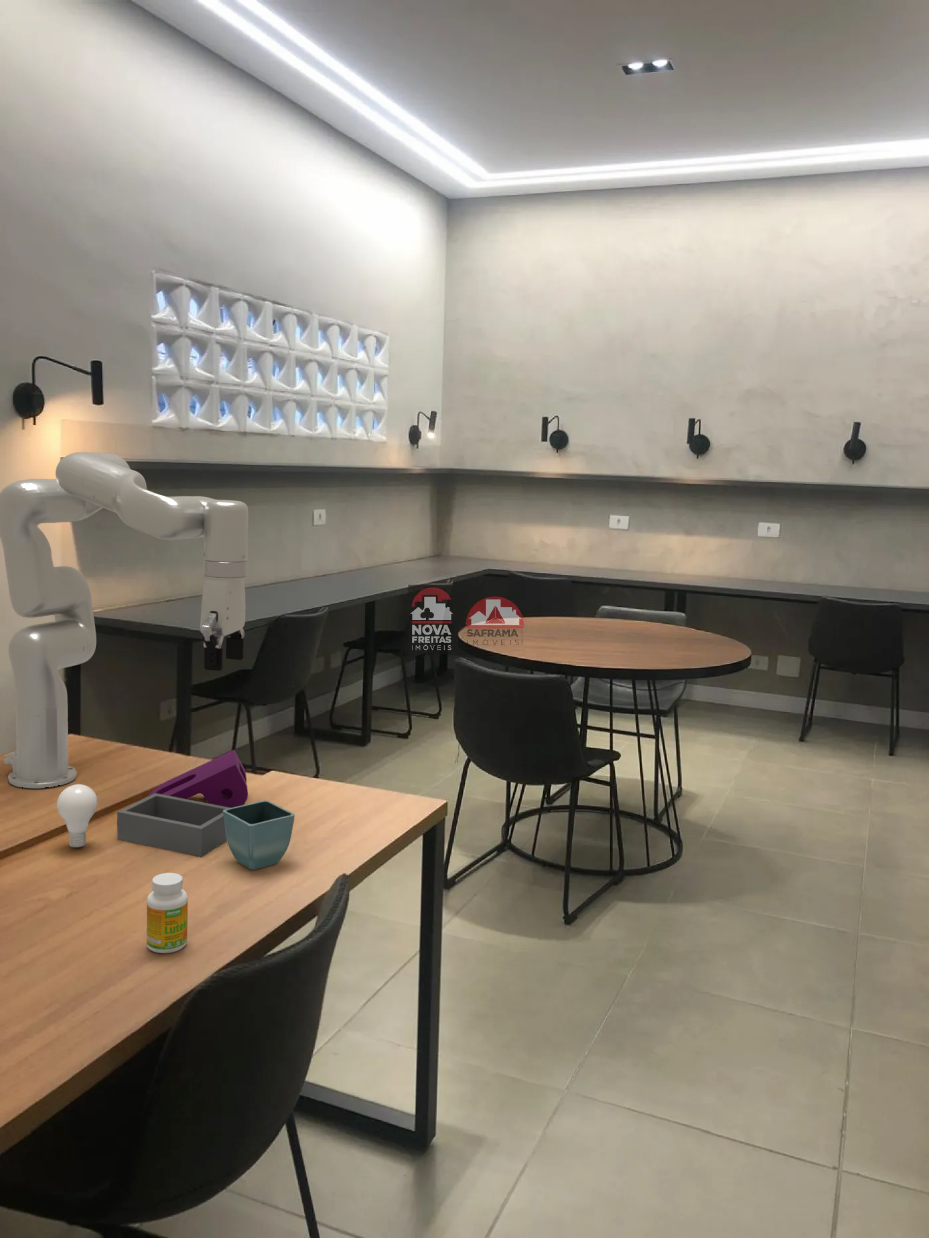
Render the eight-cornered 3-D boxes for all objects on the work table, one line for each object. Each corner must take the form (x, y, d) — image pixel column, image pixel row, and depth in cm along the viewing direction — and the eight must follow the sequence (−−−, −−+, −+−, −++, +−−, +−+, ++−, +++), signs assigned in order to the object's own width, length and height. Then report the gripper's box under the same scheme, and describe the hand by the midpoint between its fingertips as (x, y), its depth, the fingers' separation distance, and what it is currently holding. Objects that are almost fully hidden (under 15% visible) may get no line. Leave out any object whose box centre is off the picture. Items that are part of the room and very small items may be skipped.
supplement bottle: (165, 958, 131) (165, 890, 130) (138, 946, 134) (138, 879, 132) (195, 942, 136) (196, 877, 134) (168, 931, 138) (169, 866, 137)
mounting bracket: (165, 845, 182) (254, 802, 185) (144, 807, 180) (235, 764, 183) (167, 825, 191) (252, 785, 194) (148, 789, 189) (234, 749, 192)
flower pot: (265, 848, 169) (266, 798, 168) (294, 865, 163) (296, 814, 161) (220, 860, 163) (221, 809, 161) (249, 878, 157) (250, 825, 155)
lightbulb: (104, 848, 165) (104, 786, 163) (67, 858, 160) (67, 794, 158) (86, 837, 169) (86, 776, 167) (50, 846, 165) (49, 784, 163)
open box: (117, 839, 169) (117, 811, 168) (154, 819, 179) (155, 793, 178) (201, 857, 164) (201, 828, 163) (235, 835, 174) (235, 808, 173)
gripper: (224, 563, 181) (223, 653, 184) (184, 574, 165) (183, 672, 167) (263, 566, 180) (261, 657, 183) (226, 577, 164) (225, 676, 166)
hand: (224, 664), depth 175 cm, fingers open, 9 cm apart
